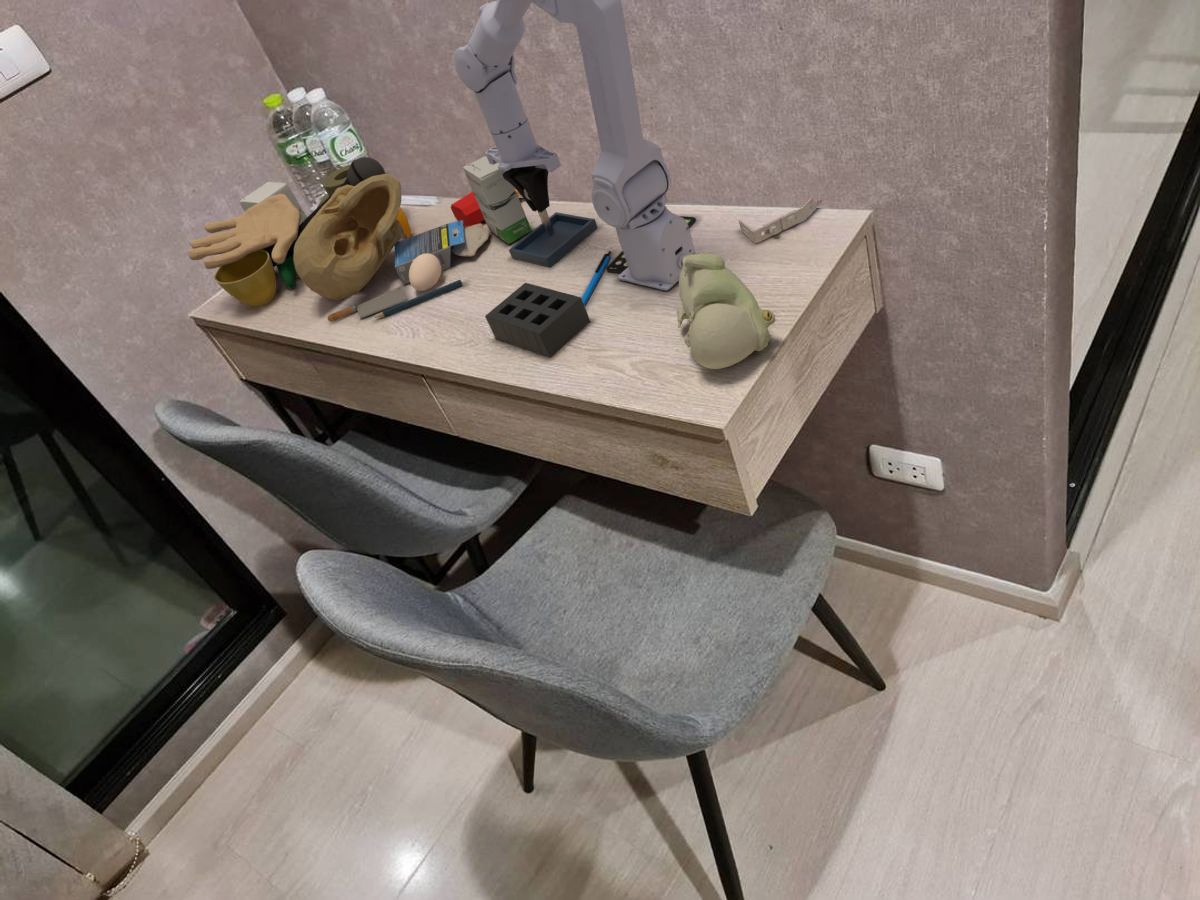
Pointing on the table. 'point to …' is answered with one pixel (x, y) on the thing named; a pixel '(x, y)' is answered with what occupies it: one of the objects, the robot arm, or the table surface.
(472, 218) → the french fries
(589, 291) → the pen
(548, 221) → the spoon
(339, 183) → the flange
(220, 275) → the flower pot
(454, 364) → the table surface
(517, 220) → the ink box
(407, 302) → the pencil
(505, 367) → the table surface
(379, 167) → the microphone
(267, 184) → the white packaging box
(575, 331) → the rack
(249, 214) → the hand model
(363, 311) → the cleaver
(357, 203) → the ear model
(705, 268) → the figurine
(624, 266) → the smartphone
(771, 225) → the bracket
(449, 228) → the label tape box
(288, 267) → the gaming controller
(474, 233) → the artifact
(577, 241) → the tray
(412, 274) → the egg
